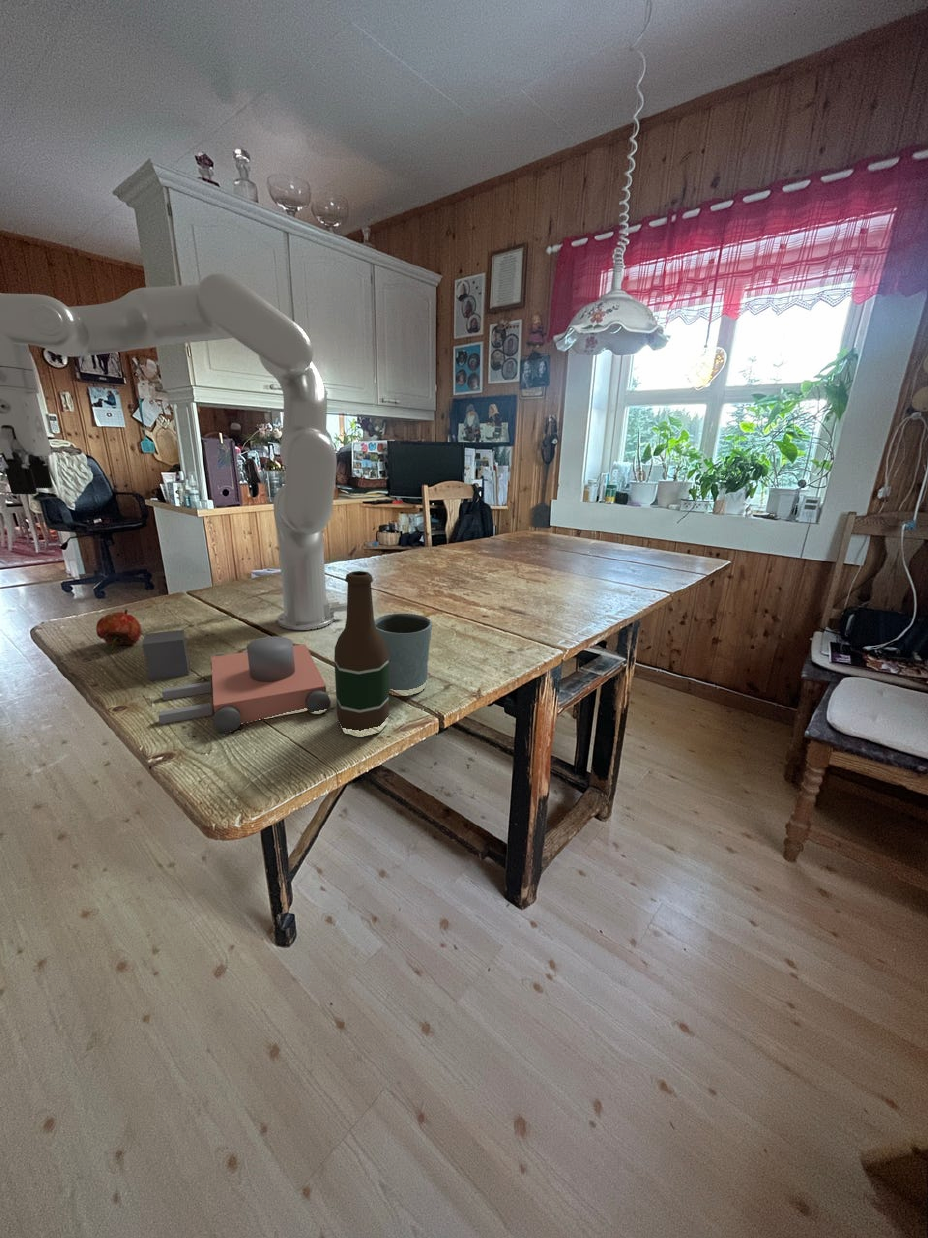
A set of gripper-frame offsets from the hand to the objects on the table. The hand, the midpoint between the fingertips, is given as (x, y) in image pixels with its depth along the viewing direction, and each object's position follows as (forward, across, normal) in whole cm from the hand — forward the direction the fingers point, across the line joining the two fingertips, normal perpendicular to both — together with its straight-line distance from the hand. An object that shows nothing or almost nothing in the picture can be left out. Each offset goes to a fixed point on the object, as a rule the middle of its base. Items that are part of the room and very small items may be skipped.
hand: (33, 490), depth 84 cm
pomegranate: (+30, -1, -8) cm, 31 cm away
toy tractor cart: (+30, -30, -29) cm, 51 cm away
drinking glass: (+30, -36, -54) cm, 72 cm away
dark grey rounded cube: (+30, -16, -17) cm, 38 cm away
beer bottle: (+30, -46, -44) cm, 71 cm away
